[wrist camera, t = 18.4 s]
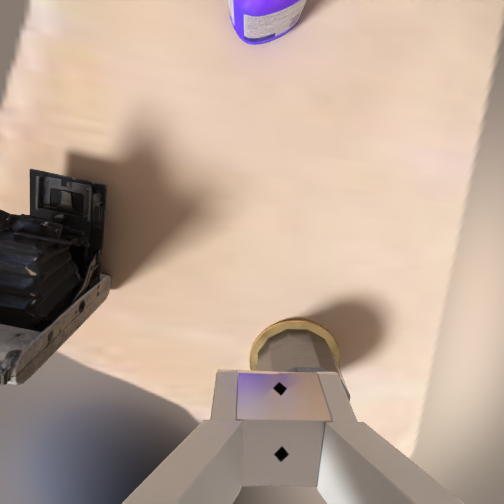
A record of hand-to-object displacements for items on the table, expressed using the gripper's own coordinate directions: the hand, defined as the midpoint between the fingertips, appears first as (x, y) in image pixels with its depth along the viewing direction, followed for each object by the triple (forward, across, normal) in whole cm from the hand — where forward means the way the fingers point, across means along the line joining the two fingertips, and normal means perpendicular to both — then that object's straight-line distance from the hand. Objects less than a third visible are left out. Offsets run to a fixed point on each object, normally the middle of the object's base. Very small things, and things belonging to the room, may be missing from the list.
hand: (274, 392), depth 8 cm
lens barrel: (+34, -7, +24) cm, 42 cm away
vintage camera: (+34, +22, +6) cm, 41 cm away
